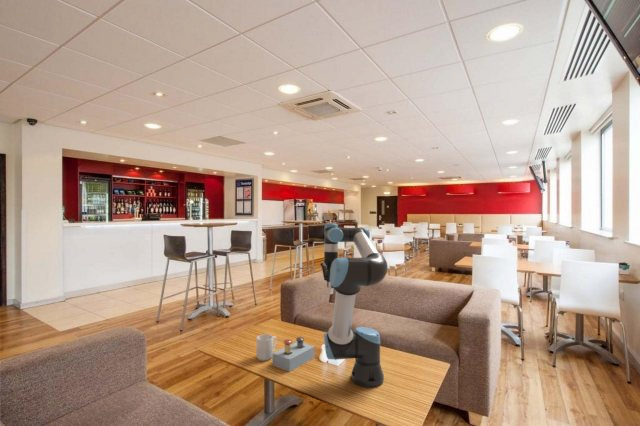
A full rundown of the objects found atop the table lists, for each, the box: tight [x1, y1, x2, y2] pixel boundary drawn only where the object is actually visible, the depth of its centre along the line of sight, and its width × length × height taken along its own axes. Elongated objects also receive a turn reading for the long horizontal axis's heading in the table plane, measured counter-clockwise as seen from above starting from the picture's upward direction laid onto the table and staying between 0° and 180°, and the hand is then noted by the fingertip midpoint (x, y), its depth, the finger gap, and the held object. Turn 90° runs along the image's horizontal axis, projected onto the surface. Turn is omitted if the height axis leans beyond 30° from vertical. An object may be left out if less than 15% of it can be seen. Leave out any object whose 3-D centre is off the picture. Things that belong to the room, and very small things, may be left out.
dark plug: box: [295, 336, 305, 349], centre depth 173 cm, size 4×4×9 cm
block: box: [271, 341, 315, 372], centre depth 169 cm, size 12×20×6 cm, turn 144°
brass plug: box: [283, 339, 293, 355], centre depth 165 cm, size 4×4×9 cm
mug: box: [256, 333, 278, 362], centre depth 174 cm, size 12×9×11 cm
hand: (330, 293), depth 177 cm, fingers closed
